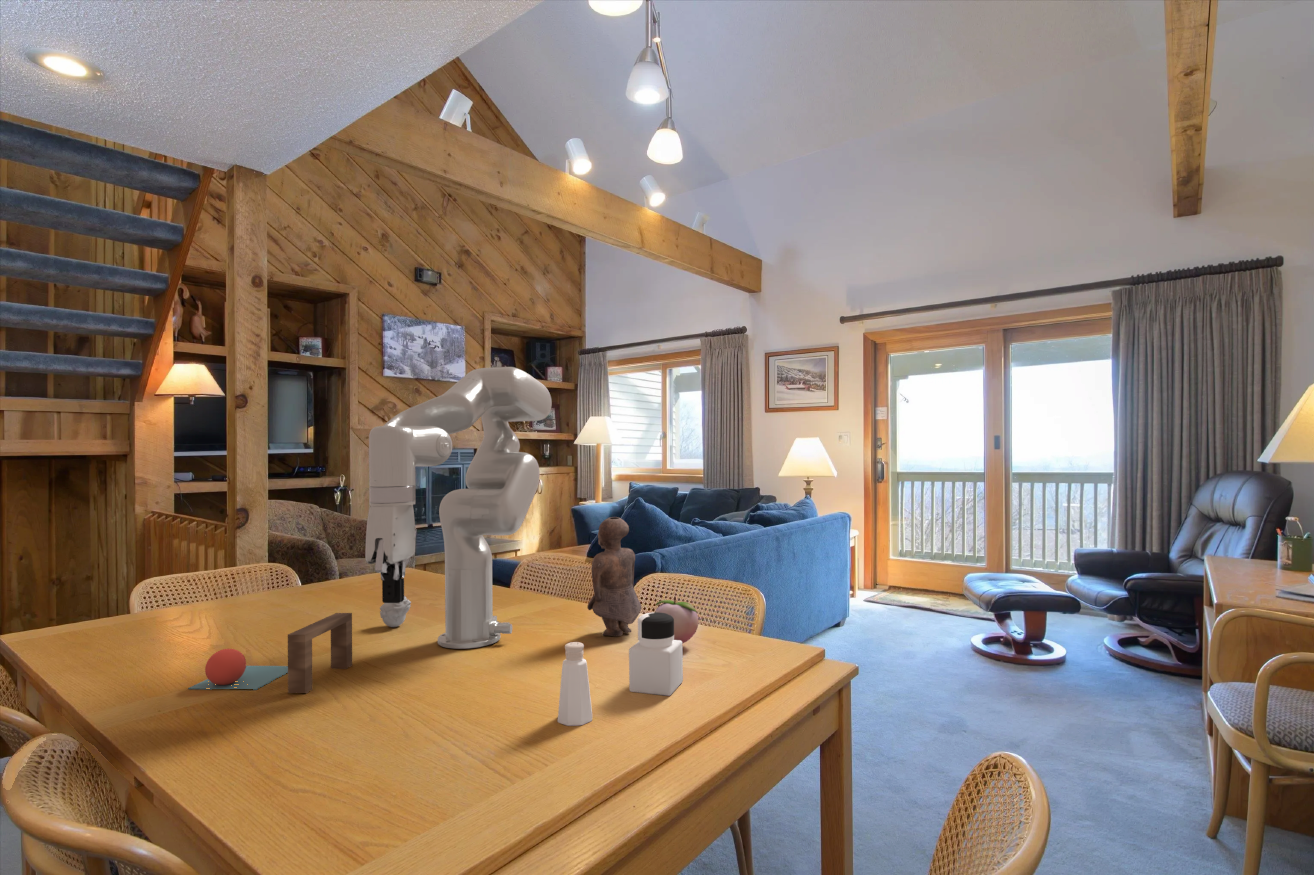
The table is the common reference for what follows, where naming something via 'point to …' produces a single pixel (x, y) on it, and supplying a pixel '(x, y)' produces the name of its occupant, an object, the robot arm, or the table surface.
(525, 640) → the table surface
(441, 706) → the table surface
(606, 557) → the clay figurine
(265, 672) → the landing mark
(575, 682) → the pepper shaker
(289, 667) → the bridge
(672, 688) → the medicine bottle
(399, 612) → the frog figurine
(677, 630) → the decorative fruit
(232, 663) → the ball
